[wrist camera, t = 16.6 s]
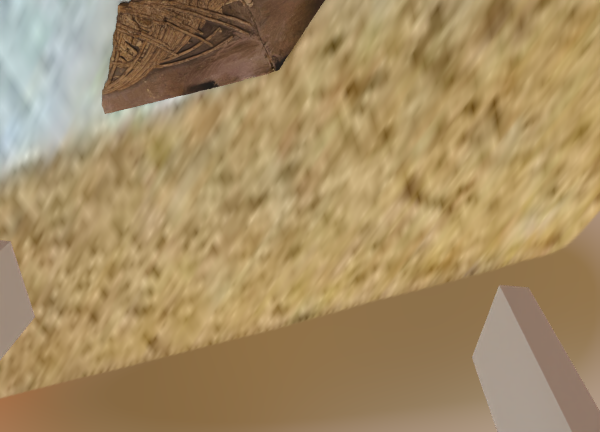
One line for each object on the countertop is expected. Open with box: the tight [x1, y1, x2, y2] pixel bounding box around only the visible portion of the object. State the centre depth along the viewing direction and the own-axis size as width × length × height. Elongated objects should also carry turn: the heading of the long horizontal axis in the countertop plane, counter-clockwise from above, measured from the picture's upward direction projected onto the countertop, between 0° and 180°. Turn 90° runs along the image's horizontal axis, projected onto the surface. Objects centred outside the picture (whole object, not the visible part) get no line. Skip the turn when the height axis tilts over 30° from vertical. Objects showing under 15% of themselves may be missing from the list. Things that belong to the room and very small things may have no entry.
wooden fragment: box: [102, 0, 325, 114], centre depth 36 cm, size 26×11×1 cm, turn 119°
